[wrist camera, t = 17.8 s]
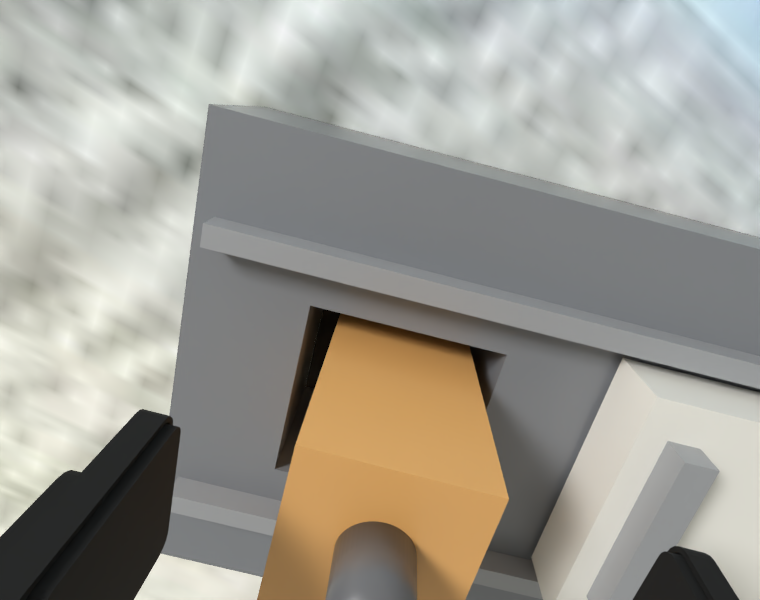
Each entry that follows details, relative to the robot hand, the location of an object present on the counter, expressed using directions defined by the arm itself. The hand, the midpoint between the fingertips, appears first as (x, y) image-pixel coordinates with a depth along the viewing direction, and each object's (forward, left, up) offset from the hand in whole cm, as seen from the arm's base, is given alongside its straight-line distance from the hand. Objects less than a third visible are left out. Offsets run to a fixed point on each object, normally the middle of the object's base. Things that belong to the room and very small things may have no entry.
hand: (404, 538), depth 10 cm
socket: (-3, +1, -10) cm, 10 cm away
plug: (0, +1, -10) cm, 10 cm away
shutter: (-9, +1, -5) cm, 10 cm away
